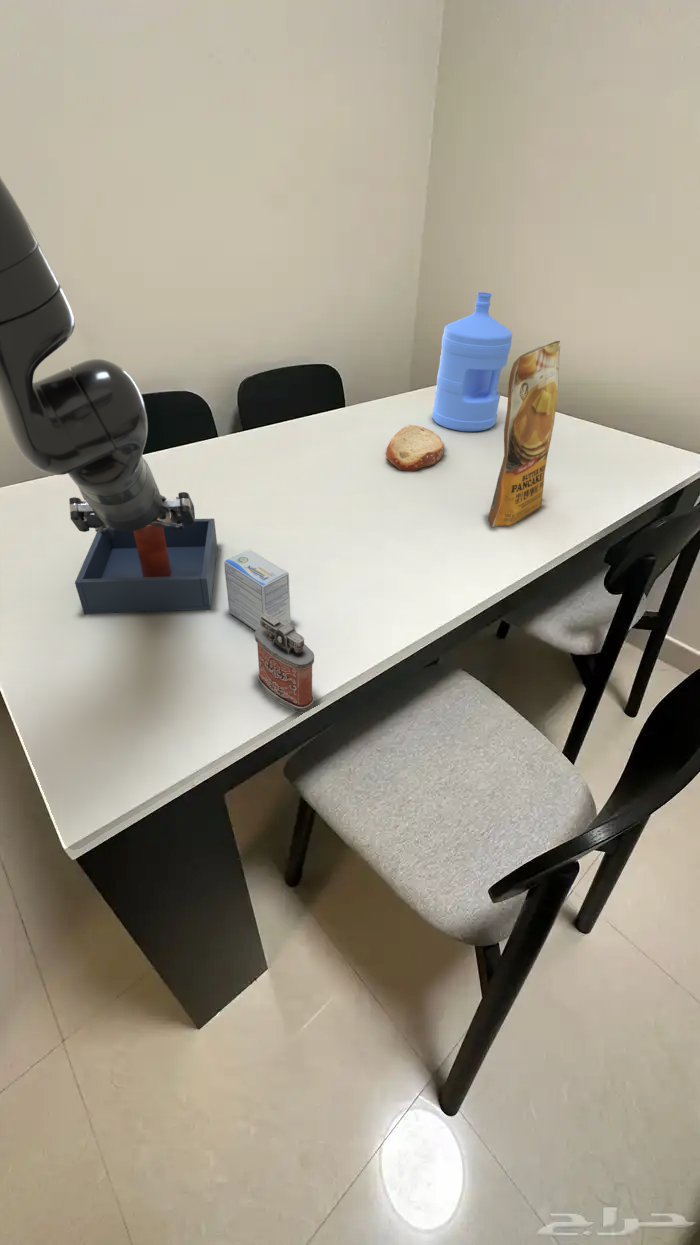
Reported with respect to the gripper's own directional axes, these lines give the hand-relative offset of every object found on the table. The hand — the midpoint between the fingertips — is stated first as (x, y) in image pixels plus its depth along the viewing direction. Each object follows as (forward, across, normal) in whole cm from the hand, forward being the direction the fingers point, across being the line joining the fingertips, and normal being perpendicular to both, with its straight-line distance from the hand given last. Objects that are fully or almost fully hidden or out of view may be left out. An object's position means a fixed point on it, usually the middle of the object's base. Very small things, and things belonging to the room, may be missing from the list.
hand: (144, 529), depth 79 cm
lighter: (-12, -16, +24) cm, 32 cm away
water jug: (+48, -71, -37) cm, 94 cm away
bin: (+6, 0, +6) cm, 8 cm away
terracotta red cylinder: (+6, 0, +5) cm, 8 cm away
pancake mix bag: (+15, -63, -4) cm, 65 cm away
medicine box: (-2, -14, +14) cm, 20 cm away
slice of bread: (+36, -52, -24) cm, 68 cm away
